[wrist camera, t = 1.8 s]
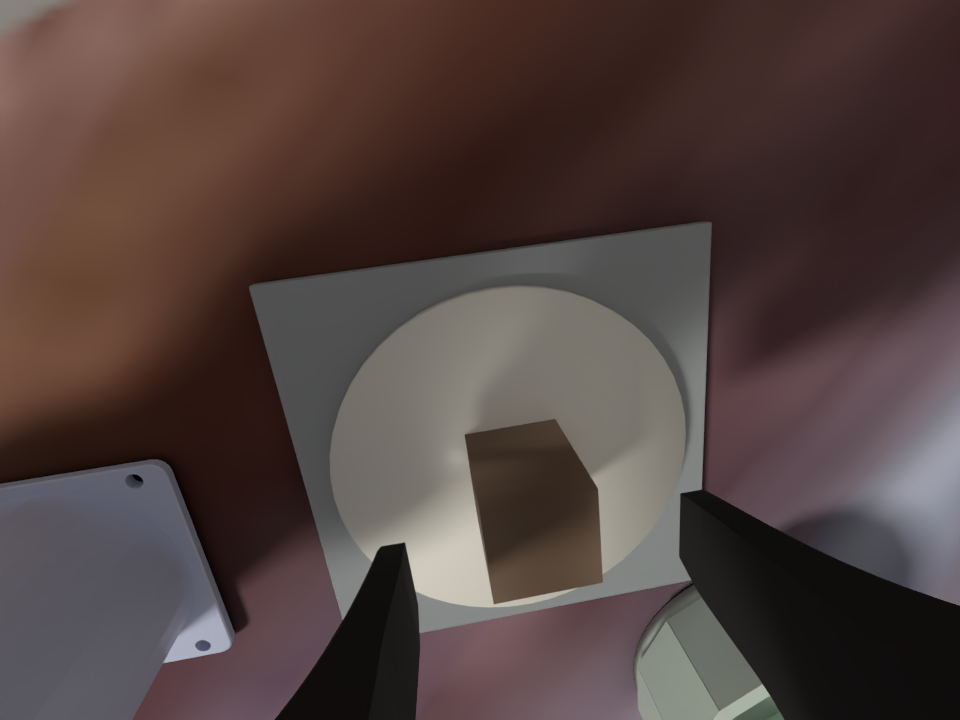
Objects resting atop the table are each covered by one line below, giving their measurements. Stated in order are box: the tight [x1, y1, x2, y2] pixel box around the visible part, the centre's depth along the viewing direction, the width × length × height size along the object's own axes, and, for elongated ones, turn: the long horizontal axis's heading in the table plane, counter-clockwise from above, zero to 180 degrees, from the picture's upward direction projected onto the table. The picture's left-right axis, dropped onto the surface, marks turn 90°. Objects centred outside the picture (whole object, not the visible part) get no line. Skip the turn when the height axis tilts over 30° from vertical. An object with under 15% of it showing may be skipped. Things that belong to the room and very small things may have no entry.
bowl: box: [633, 585, 784, 720], centre depth 20 cm, size 10×10×4 cm
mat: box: [249, 221, 712, 633], centre depth 17 cm, size 14×14×1 cm
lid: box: [330, 285, 686, 608], centre depth 15 cm, size 12×12×5 cm
